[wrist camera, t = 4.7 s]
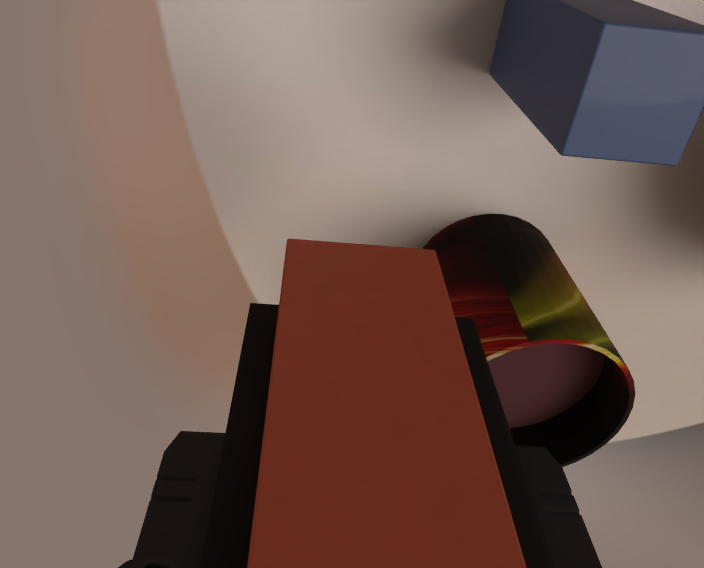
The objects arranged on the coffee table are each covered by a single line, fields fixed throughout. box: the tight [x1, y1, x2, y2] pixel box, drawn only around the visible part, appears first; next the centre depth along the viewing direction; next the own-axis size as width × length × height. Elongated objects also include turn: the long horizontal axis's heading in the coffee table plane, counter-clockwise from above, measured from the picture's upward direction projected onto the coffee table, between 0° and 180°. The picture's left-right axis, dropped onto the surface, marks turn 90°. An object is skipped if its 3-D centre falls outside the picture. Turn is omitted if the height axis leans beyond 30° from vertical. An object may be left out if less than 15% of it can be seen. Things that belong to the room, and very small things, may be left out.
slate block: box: [490, 0, 704, 166], centre depth 21 cm, size 4×4×10 cm
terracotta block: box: [247, 239, 526, 568], centre depth 12 cm, size 4×4×10 cm
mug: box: [423, 214, 635, 467], centre depth 30 cm, size 8×12×10 cm
